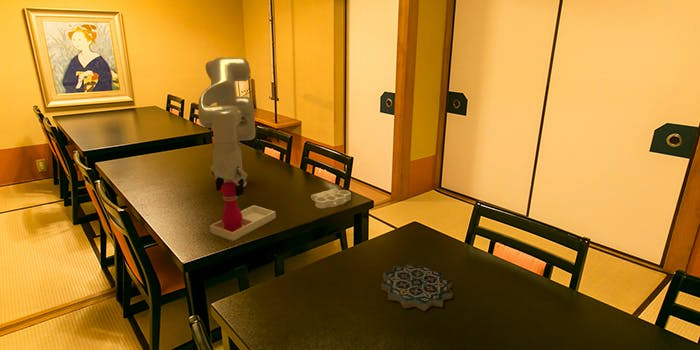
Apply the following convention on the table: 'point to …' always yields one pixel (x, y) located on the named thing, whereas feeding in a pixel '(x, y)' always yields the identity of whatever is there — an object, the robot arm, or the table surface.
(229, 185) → the pepper mill
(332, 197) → the knuckle duster
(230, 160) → the robot arm
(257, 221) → the cell tray
